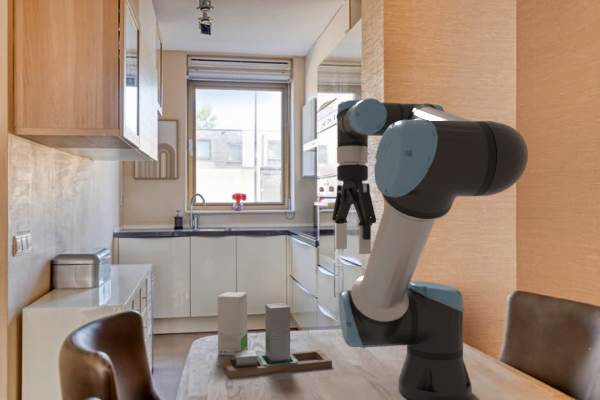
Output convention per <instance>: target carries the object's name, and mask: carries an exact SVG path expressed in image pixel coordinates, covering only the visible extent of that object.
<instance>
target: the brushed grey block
mask: <svg viewBox="0 0 600 400" xmlns="http://www.w3.org/2000/svg"><path fill="white" fill-rule="evenodd" d="M264 341H265V351H264V352H265V361H266V363H267V364H275V363H285V362H290V353H291V306H289V305H288V304H287V303H286V302H280V303H265V340H264Z"/></svg>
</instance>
